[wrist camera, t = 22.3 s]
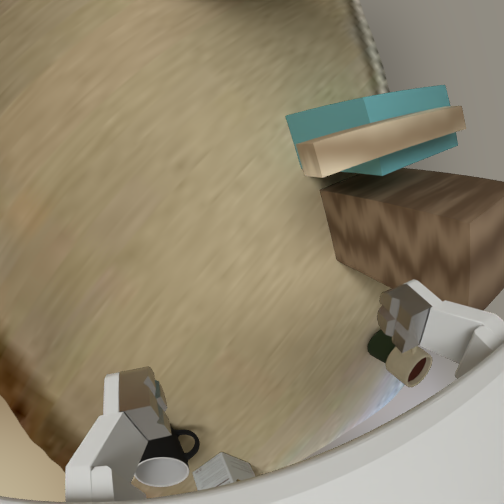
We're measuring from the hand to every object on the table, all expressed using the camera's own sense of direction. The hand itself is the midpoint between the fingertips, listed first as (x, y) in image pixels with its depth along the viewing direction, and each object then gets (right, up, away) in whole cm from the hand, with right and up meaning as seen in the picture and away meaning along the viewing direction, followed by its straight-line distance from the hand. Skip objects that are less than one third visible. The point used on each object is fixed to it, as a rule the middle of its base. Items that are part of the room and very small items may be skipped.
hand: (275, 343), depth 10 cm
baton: (+13, +15, +18) cm, 27 cm away
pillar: (+17, +9, +40) cm, 44 cm away
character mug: (+25, -15, +50) cm, 58 cm away
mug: (-17, -28, +38) cm, 50 cm away
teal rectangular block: (+12, +21, +34) cm, 42 cm away
